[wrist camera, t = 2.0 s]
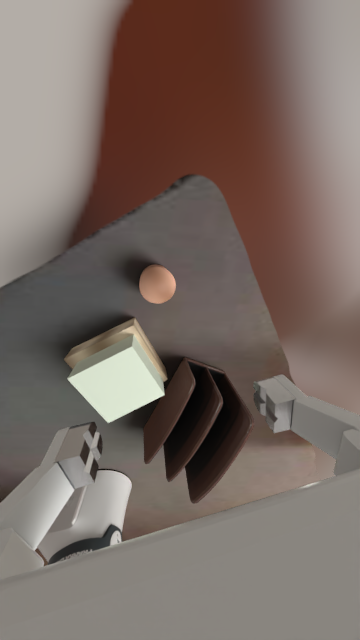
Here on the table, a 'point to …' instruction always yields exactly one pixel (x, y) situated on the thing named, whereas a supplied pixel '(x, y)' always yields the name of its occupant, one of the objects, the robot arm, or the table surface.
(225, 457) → the letter holder
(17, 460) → the table surface
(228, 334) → the table surface
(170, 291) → the tan rounded cylinder
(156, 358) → the maple base block
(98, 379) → the sage top block
